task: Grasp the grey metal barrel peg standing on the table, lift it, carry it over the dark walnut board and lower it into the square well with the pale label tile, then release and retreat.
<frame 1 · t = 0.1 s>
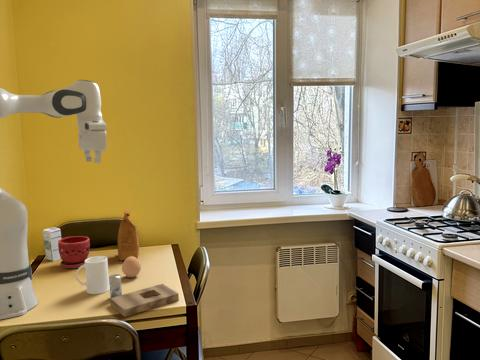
hand: (93, 162, 162), 48 cm above the table, fingers open, 8 cm apart
plant pot: (76, 265, 193), on the table
peg: (116, 297, 156), on the table
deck: (145, 302, 151), on the table
egg: (132, 277, 177), on the table
syrup box: (54, 259, 203), on the table
mug: (93, 291, 163), on the table
coffee package: (129, 257, 203), on the table
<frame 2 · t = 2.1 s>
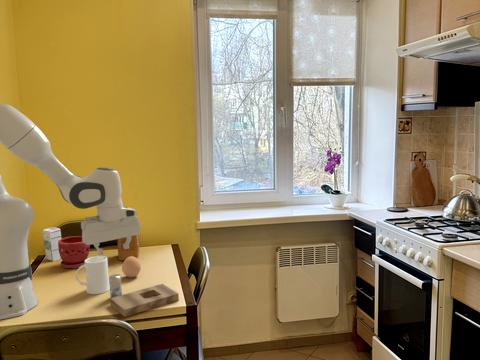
hand: (113, 251, 154), 17 cm above the table, fingers open, 8 cm apart
nothing on the table moved.
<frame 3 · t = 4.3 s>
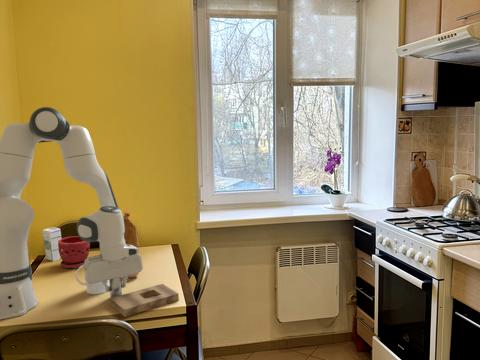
hand: (115, 289, 156), 3 cm above the table, fingers closed on peg, 4 cm apart
peg: (116, 297, 156), on the table, touching gripper
everything else where it was.
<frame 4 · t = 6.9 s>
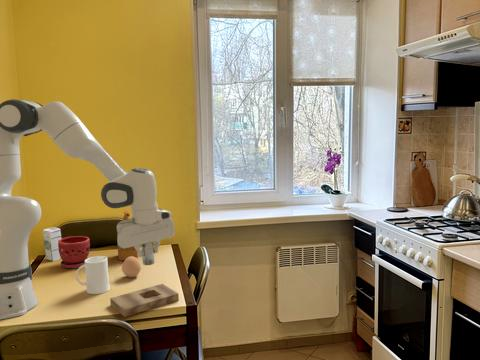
hand: (148, 254, 150), 17 cm above the table, fingers closed on peg, 4 cm apart
peg: (148, 263, 151), point 14 cm above the table, touching gripper
everything else where it was.
when the fingers open (5 cm above the table, at t = 9.4 s): peg drops 1 cm, resting on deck.
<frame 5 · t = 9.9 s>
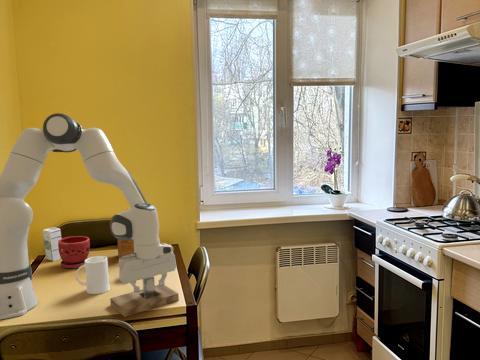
hand: (149, 288, 152), 5 cm above the table, fingers open, 8 cm apart
peg: (149, 300, 152), resting on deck
everything else where it was.
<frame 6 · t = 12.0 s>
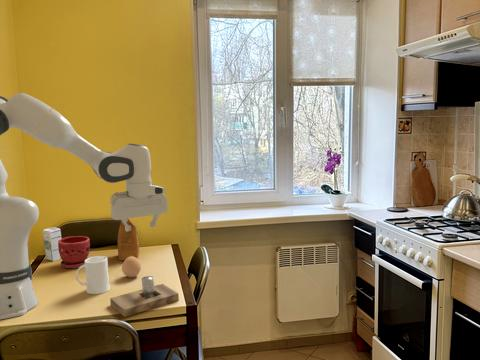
hand: (140, 228, 153), 25 cm above the table, fingers open, 8 cm apart
nothing on the table moved.
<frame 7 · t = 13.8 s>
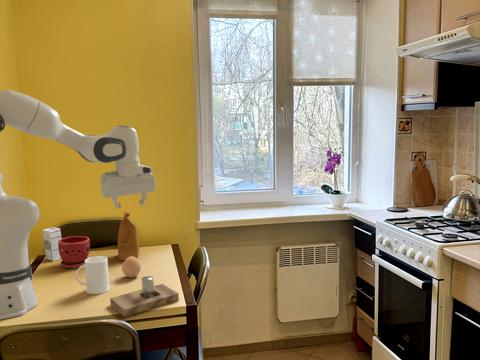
hand: (130, 206, 163), 31 cm above the table, fingers open, 8 cm apart
nothing on the table moved.
at the end: peg 0.3 cm from the target spot on the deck, point 0.4 cm above the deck's base; peg tilted 3°; the gripper is holding nothing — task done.
